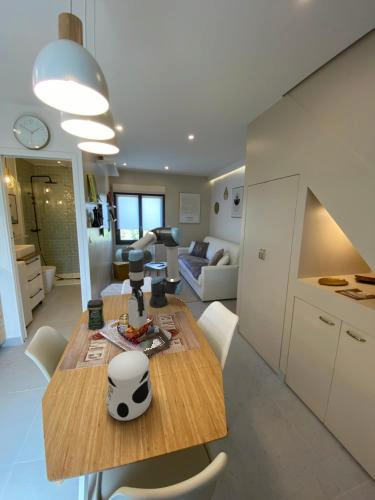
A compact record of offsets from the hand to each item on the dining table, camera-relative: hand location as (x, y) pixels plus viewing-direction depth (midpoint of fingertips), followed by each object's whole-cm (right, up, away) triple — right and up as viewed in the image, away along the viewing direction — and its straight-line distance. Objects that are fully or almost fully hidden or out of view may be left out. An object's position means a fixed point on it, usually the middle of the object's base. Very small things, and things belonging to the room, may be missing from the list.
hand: (138, 317), depth 113 cm
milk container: (+5, -24, -33) cm, 41 cm away
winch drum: (+4, -15, +15) cm, 22 cm away
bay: (+7, -17, +3) cm, 19 cm away
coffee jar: (-33, -14, +22) cm, 41 cm away
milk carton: (0, -4, +1) cm, 4 cm away
